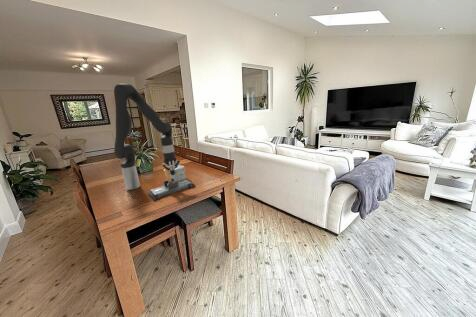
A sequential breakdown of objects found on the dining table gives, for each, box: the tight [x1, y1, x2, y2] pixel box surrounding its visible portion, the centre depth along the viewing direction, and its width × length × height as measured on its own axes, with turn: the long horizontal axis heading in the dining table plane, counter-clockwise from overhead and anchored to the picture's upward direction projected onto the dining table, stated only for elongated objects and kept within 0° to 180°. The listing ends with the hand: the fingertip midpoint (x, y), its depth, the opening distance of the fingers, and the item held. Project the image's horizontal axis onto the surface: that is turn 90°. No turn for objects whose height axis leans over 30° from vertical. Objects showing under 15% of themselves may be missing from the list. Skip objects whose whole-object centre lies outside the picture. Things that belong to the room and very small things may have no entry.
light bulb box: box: [168, 164, 187, 181], centre depth 153 cm, size 11×7×11 cm, turn 145°
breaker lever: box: [163, 168, 172, 183], centre depth 133 cm, size 4×2×13 cm, turn 39°
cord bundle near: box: [147, 190, 161, 201], centre depth 129 cm, size 15×4×2 cm, turn 39°
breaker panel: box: [149, 178, 192, 198], centre depth 136 cm, size 10×26×7 cm, turn 129°
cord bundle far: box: [187, 179, 196, 189], centre depth 144 cm, size 15×4×2 cm, turn 39°
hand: (172, 174), depth 135 cm, fingers closed
